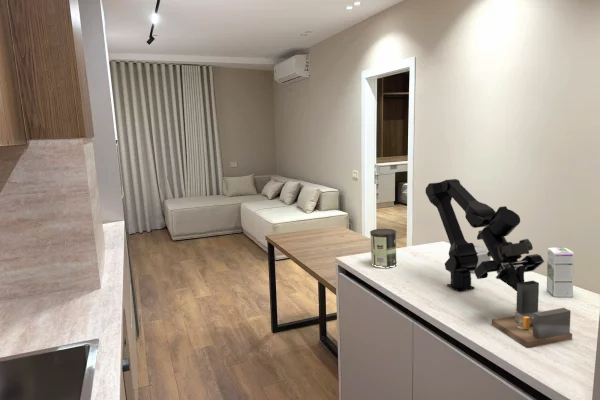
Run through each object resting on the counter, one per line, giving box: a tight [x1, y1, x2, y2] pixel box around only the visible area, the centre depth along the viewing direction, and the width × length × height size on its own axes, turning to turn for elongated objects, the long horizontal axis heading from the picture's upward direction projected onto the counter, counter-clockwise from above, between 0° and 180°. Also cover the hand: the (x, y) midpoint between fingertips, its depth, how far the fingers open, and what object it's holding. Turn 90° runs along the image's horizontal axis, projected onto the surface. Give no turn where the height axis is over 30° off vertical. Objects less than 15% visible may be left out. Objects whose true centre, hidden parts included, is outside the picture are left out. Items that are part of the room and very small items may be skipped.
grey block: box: [470, 244, 492, 275], centre depth 159 cm, size 10×13×9 cm
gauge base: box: [491, 307, 573, 349], centre depth 108 cm, size 13×13×8 cm
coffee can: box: [369, 228, 398, 267], centre depth 169 cm, size 10×10×14 cm
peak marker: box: [523, 316, 530, 329], centre depth 106 cm, size 1×1×3 cm
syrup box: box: [546, 246, 575, 298], centre depth 130 cm, size 6×6×14 cm
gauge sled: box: [514, 280, 541, 326], centre depth 109 cm, size 6×7×10 cm
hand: (523, 294), depth 111 cm, fingers closed, pressing on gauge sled
